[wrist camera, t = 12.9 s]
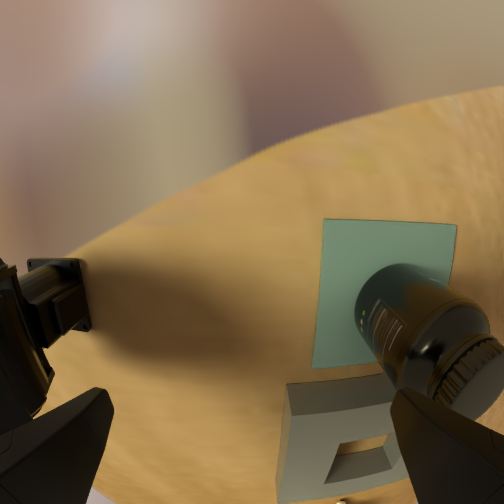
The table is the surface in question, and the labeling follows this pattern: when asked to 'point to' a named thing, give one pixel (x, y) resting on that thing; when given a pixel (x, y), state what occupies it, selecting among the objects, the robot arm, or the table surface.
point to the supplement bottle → (431, 339)
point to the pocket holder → (336, 439)
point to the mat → (368, 276)
